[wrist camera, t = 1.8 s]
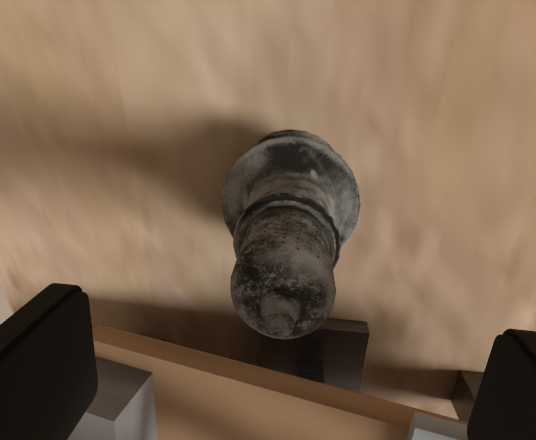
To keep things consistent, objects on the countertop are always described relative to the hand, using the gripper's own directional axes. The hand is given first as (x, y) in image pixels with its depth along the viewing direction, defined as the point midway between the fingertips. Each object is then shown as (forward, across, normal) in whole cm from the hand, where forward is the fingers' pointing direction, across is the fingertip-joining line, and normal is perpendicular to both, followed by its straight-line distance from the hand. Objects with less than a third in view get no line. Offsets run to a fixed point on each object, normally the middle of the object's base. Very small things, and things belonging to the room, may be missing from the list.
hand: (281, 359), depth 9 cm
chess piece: (+12, 0, -1) cm, 12 cm away
